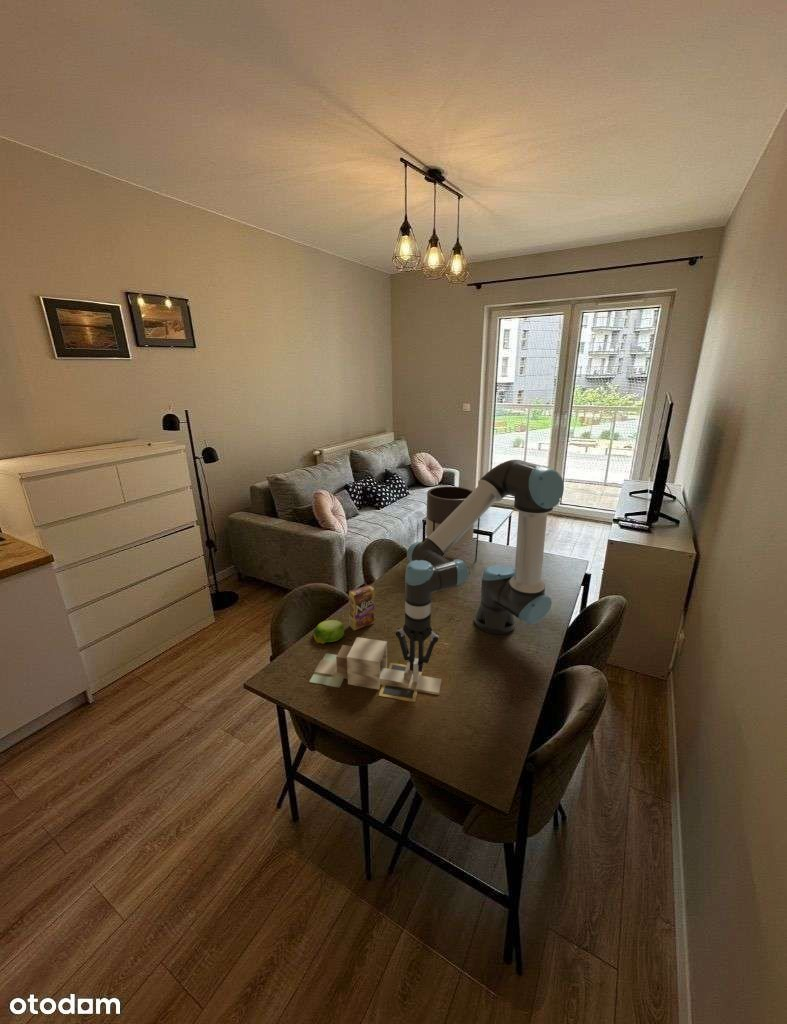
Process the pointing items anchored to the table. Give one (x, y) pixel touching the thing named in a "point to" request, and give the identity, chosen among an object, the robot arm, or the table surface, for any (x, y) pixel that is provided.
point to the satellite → (372, 672)
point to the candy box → (361, 607)
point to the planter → (447, 509)
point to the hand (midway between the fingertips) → (416, 678)
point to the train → (385, 673)
